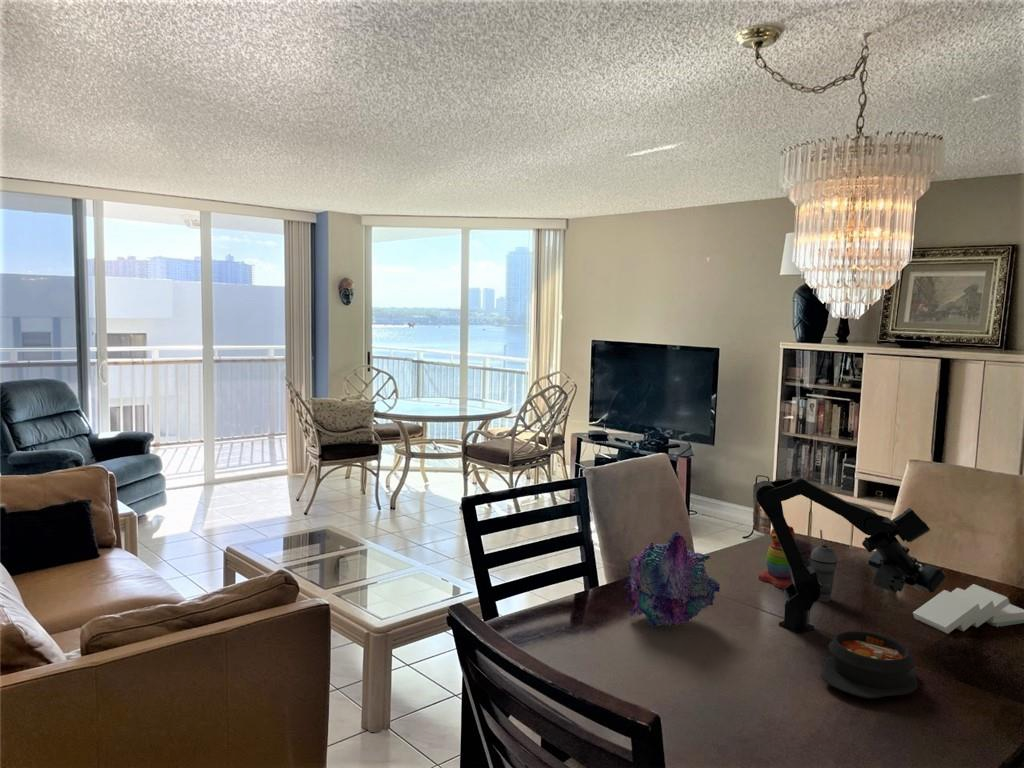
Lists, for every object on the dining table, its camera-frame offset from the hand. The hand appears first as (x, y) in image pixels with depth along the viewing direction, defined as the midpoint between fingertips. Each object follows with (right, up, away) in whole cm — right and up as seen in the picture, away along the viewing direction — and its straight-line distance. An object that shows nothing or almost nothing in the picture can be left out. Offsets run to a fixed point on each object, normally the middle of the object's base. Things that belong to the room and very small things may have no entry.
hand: (920, 589), depth 182 cm
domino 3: (+14, -9, +6) cm, 18 cm away
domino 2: (+9, -10, +4) cm, 14 cm away
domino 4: (+20, -8, +8) cm, 23 cm away
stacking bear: (-23, -8, +34) cm, 42 cm away
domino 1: (+4, -10, +3) cm, 11 cm away
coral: (-65, -10, +2) cm, 65 cm away
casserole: (-27, -13, -27) cm, 41 cm away
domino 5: (+21, -10, +8) cm, 25 cm away
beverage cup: (-16, -9, +21) cm, 28 cm away
